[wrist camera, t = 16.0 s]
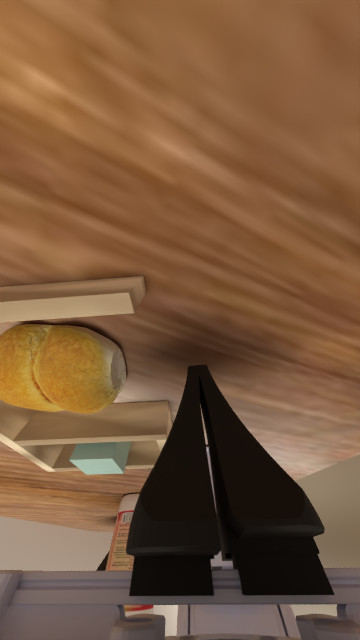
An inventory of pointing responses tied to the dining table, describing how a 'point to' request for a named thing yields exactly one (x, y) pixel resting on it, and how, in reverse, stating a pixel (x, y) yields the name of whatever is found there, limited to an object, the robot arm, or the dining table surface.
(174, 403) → the dining table surface
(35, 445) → the organiser frame
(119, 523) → the fruit juice
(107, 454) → the teal block
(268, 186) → the dining table surface
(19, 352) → the bread roll
